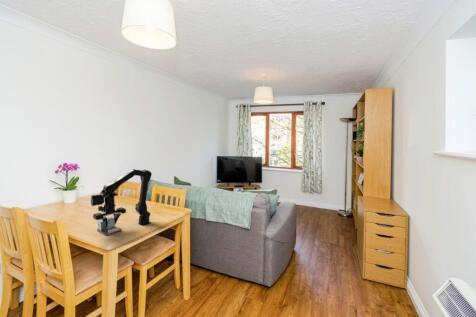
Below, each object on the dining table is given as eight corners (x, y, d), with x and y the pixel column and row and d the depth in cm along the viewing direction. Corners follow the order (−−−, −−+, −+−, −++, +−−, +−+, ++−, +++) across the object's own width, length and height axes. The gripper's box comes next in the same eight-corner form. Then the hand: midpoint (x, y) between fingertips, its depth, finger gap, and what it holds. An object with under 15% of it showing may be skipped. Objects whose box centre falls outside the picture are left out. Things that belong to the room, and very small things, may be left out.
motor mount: (112, 226, 163) (112, 216, 162) (121, 230, 155) (121, 220, 154) (97, 230, 155) (96, 220, 154) (105, 236, 147) (105, 225, 146)
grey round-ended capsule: (116, 227, 154) (116, 219, 153) (108, 230, 150) (108, 221, 149) (112, 226, 157) (112, 217, 156) (105, 228, 153) (104, 219, 152)
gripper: (118, 197, 164) (118, 219, 165) (88, 203, 149) (90, 227, 150) (126, 200, 157) (126, 222, 159) (96, 207, 142) (97, 231, 144)
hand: (110, 225), depth 153 cm, fingers closed on grey round-ended capsule, 5 cm apart
